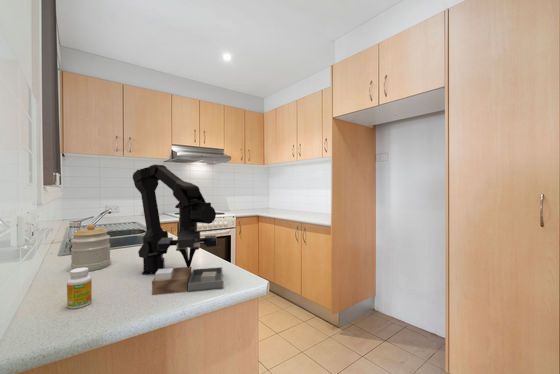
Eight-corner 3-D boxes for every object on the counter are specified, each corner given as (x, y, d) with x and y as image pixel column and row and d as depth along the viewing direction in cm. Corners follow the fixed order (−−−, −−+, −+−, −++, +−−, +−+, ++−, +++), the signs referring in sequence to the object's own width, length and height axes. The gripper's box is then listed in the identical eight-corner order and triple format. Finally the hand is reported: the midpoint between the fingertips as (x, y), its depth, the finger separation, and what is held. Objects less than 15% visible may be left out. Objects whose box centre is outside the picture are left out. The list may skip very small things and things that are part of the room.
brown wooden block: (152, 294, 77) (151, 281, 77) (161, 280, 89) (160, 268, 89) (187, 291, 80) (187, 278, 80) (191, 277, 91) (191, 266, 91)
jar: (86, 274, 96) (85, 227, 96) (62, 270, 100) (62, 225, 100) (118, 264, 109) (117, 222, 108) (96, 261, 113) (95, 221, 113)
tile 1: (214, 275, 86) (214, 281, 86) (216, 271, 90) (216, 277, 90) (200, 276, 85) (200, 282, 85) (203, 272, 90) (203, 277, 90)
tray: (188, 291, 79) (187, 283, 79) (192, 276, 93) (192, 269, 93) (222, 288, 82) (222, 280, 82) (222, 273, 95) (222, 267, 95)
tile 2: (155, 280, 78) (155, 273, 78) (158, 275, 83) (158, 269, 83) (171, 279, 79) (171, 272, 79) (173, 274, 84) (173, 268, 84)
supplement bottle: (72, 311, 68) (71, 274, 68) (63, 306, 70) (63, 270, 70) (95, 303, 72) (94, 268, 72) (86, 298, 75) (86, 265, 75)
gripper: (152, 226, 78) (153, 277, 78) (215, 223, 82) (216, 272, 82) (160, 221, 89) (161, 266, 89) (216, 219, 93) (216, 262, 93)
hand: (188, 267), depth 88 cm, fingers closed
